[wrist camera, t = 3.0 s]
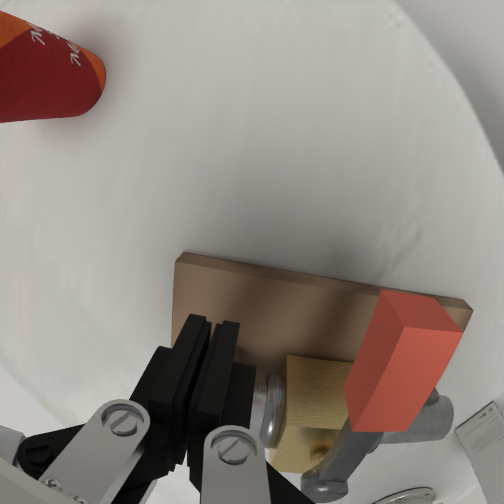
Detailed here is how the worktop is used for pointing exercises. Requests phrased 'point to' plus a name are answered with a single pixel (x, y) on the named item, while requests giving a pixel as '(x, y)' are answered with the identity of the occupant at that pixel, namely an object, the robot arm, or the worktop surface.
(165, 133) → the worktop surface
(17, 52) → the paper cup
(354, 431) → the valve lever
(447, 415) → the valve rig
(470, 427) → the skincare box
